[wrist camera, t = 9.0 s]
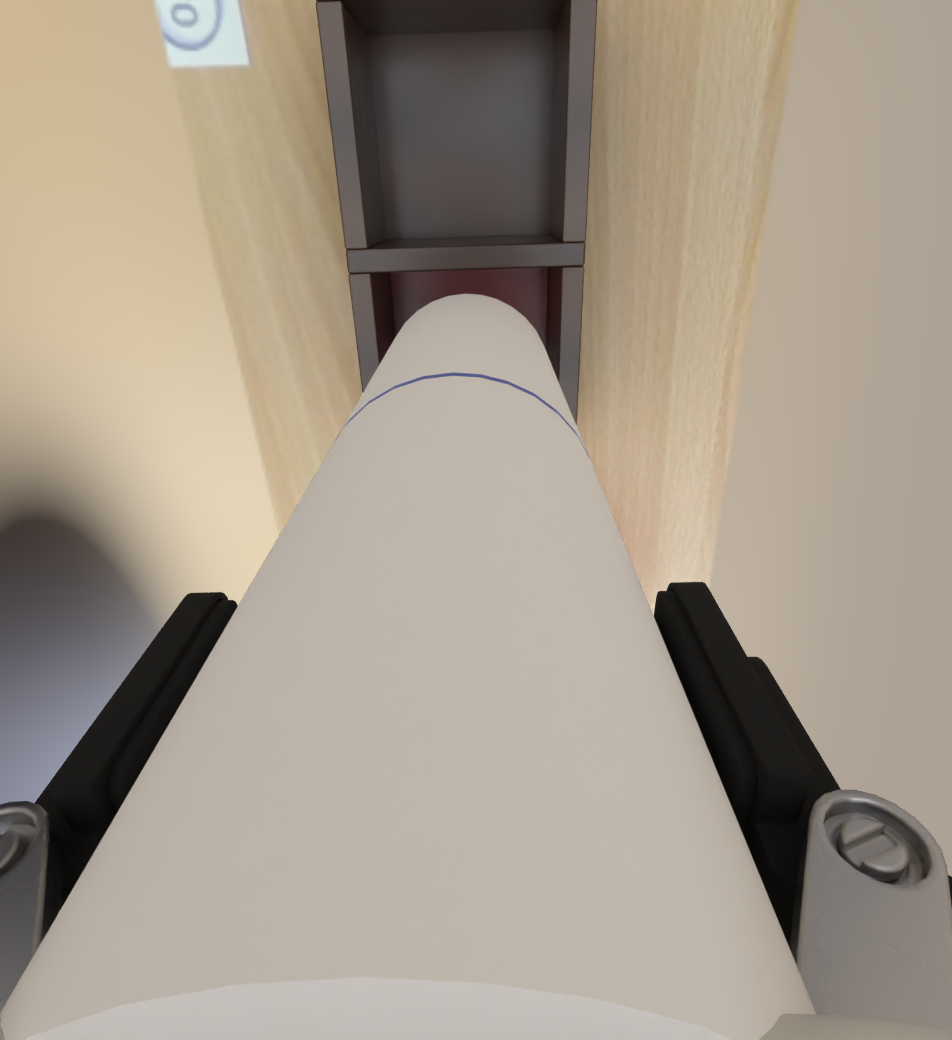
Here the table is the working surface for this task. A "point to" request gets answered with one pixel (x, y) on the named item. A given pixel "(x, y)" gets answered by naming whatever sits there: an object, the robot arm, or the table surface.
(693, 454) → the table surface
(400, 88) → the wooden compartment box
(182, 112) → the table surface
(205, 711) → the cylindrical container
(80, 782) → the robot arm
